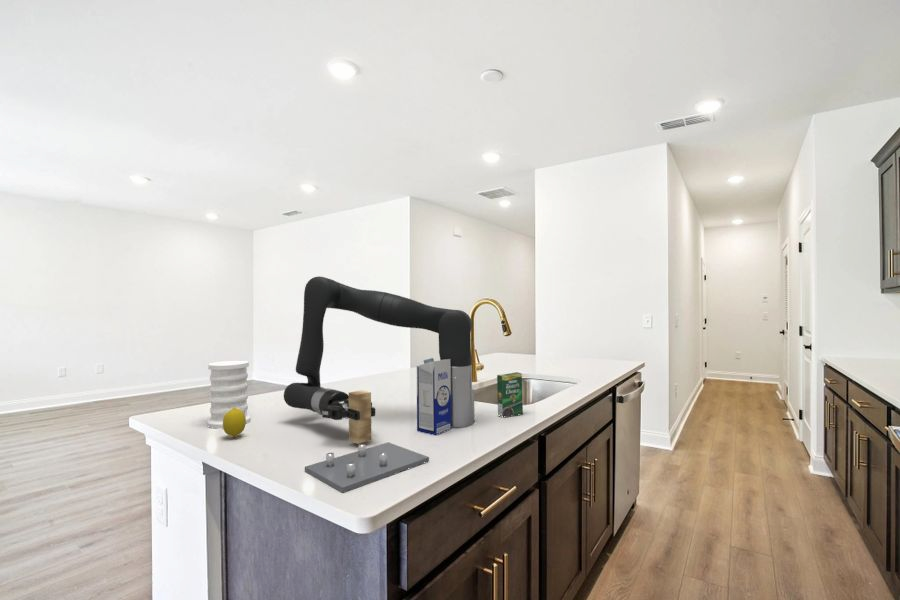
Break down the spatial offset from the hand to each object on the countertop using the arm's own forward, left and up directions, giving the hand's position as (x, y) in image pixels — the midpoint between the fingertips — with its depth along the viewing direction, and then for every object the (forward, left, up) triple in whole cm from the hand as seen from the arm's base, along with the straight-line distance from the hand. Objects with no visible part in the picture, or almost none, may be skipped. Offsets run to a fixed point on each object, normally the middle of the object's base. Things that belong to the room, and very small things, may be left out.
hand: (366, 414), depth 107 cm
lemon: (+20, -32, -8) cm, 39 cm away
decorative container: (+16, -48, -8) cm, 51 cm away
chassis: (+7, +11, -8) cm, 15 cm away
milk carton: (-21, +2, -8) cm, 23 cm away
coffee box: (-48, +8, -8) cm, 49 cm away
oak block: (0, -3, -7) cm, 8 cm away
